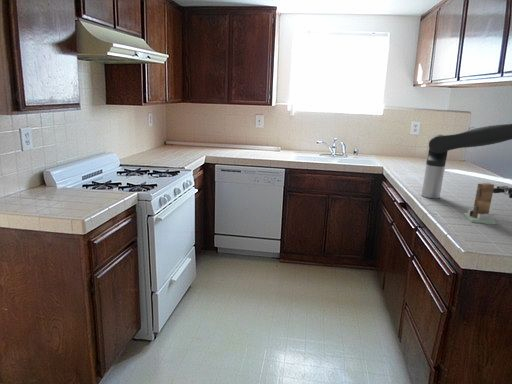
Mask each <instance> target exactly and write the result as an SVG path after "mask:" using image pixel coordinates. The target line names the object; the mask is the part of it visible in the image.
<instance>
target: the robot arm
mask: <svg viewBox="0 0 512 384" xmlns="http://www.w3.org/2000/svg"><path fill="white" fill-rule="evenodd" d="M510 140H512V123H507V124H494V125H486V126H480V127H476V128H473V129H469V130H466V131H463V132H459V133H455V134H446V135H444V134H436V135H434V136H432V137H431V138H430V140H429V141H428V152H427V158H426V162H425V163H426V165H425V169H424V177H423V182H422V190H421V196H422V197H423V198H424V197H425V198H428V199H440V198H441V191H442V187H443V180H444V175H445V167H446V163H447V157H448V152H449V151H451V150H457V149H462V148H477V147H484V146H490V145H495V144H499V143H500V144H501V143H503V142H506V141H510ZM493 194H503V195H505V196H508V197H509V199H512V187H509V186H508V185H505V186H504V185H502V186H501V185H500V186H499V185H498V186H496V187H494V189H493Z"/></svg>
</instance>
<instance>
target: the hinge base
mask: <svg viewBox="0 0 512 384" xmlns="http://www.w3.org/2000/svg"><path fill="white" fill-rule="evenodd" d="M472 214H473V209H468V210H467V212H464V216H465V218H466V219H468V221H469V222H470V223H476V224H485V225H486V224H487V225H497V223H498V222H497V221H496V220H495V219H494V218H495V213H494V212H489V213H478V216H477V218H475V217H472Z"/></svg>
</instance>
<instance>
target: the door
mask: <svg viewBox="0 0 512 384" xmlns="http://www.w3.org/2000/svg"><path fill="white" fill-rule="evenodd" d="M494 188H495V184H492V183H489V182H487V183H485V182H484V183H483V182H482V183H478V184H477V187H476V193H475V198H474V203H473V208H472V210H473V214H472V217H475V218H477V216H478V213H490V209H491V205H492V204H491V203H492V199H493V194H494V193H493V189H494Z"/></svg>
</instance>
